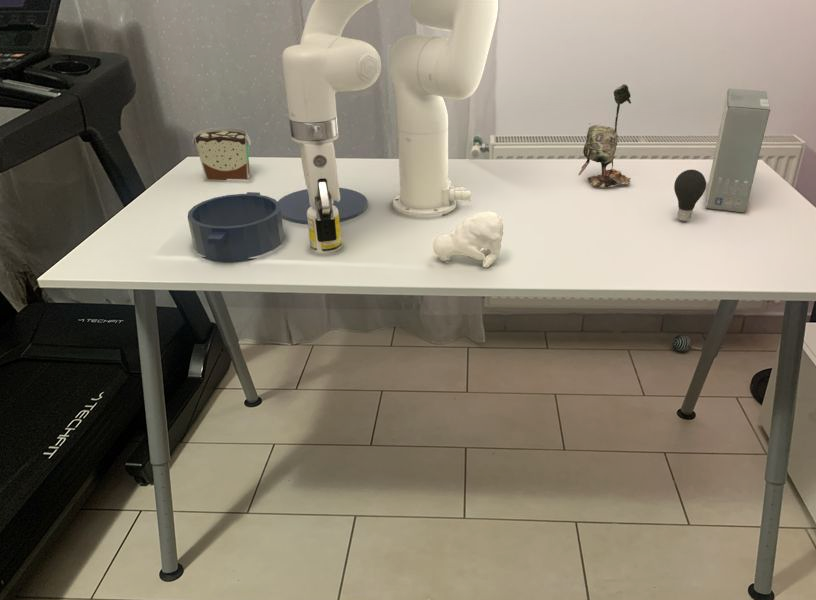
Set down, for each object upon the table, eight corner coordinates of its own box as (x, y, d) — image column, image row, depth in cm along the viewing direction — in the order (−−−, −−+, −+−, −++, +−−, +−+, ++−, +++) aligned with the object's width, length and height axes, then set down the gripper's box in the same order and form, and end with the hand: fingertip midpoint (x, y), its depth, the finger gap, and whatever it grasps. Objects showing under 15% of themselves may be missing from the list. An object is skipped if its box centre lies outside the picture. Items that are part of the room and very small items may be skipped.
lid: (374, 193, 149) (373, 162, 145) (358, 228, 134) (356, 195, 130) (289, 191, 150) (285, 160, 146) (264, 225, 135) (259, 192, 131)
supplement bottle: (347, 244, 128) (342, 192, 122) (333, 257, 123) (327, 203, 118) (319, 240, 129) (314, 188, 124) (305, 252, 125) (298, 199, 119)
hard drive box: (746, 214, 139) (770, 109, 128) (705, 209, 141) (726, 106, 130) (745, 187, 152) (767, 89, 141) (707, 183, 154) (726, 86, 143)
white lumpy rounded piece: (503, 219, 115) (428, 225, 115) (506, 267, 119) (434, 273, 120) (501, 205, 120) (430, 210, 121) (504, 251, 125) (435, 256, 125)
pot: (298, 221, 136) (294, 189, 133) (265, 271, 119) (260, 236, 115) (218, 219, 137) (212, 187, 134) (174, 268, 120) (166, 233, 116)
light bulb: (700, 218, 137) (711, 167, 132) (696, 229, 133) (706, 177, 128) (671, 214, 139) (680, 163, 134) (665, 224, 135) (674, 172, 130)
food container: (264, 172, 159) (257, 127, 154) (255, 182, 154) (248, 135, 149) (210, 170, 160) (202, 125, 155) (200, 180, 155) (190, 134, 150)
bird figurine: (576, 175, 158) (585, 81, 147) (628, 177, 157) (642, 82, 146) (577, 188, 151) (587, 90, 140) (632, 190, 150) (646, 92, 139)
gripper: (345, 142, 109) (354, 251, 119) (330, 113, 123) (339, 212, 132) (295, 146, 107) (308, 256, 117) (286, 116, 121) (298, 217, 131)
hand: (324, 232), depth 125 cm, fingers closed on supplement bottle, 5 cm apart
